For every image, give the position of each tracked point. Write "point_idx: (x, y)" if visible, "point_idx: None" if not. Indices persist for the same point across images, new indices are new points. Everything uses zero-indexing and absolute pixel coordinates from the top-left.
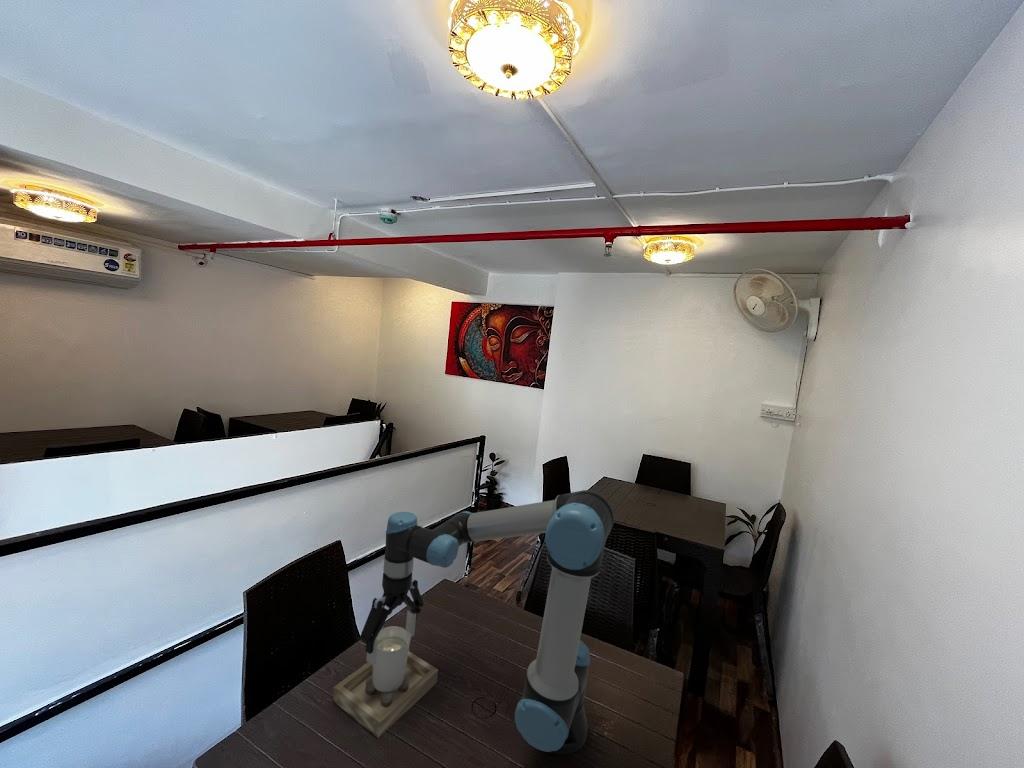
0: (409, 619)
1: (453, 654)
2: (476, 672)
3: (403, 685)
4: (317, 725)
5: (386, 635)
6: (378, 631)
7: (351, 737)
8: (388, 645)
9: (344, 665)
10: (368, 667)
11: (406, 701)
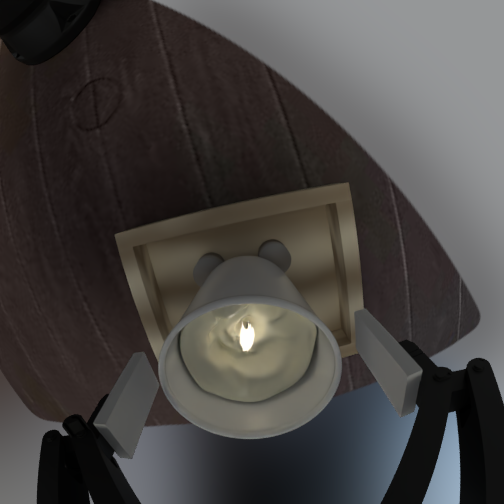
0: (133, 418)
1: (61, 277)
2: (49, 196)
3: (218, 260)
4: (399, 295)
5: (233, 411)
6: (428, 411)
7: (372, 226)
8: (237, 376)
9: None
10: None
11: (245, 201)
